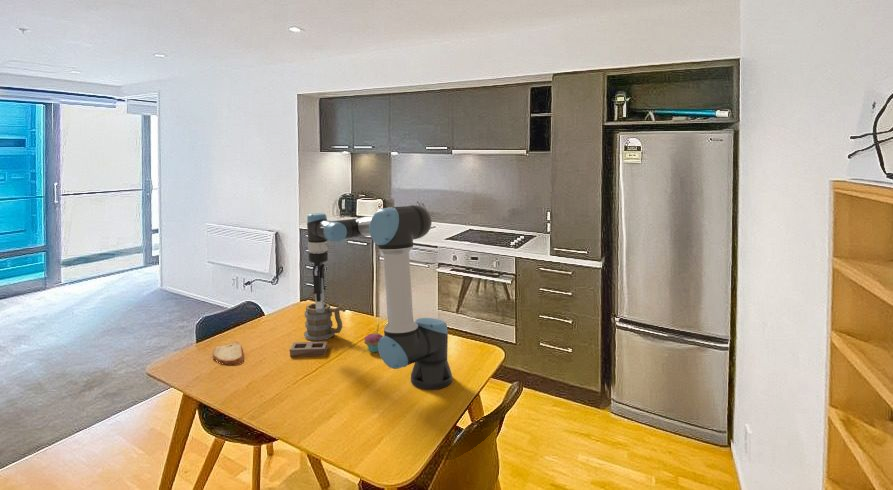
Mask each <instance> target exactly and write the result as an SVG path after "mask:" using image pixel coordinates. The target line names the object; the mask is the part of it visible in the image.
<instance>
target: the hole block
mask: <svg viewBox="0 0 893 490" xmlns="http://www.w3.org/2000/svg"><path fill="white" fill-rule="evenodd" d="M328 348H329V347H328V341H301V342H293V343H292V345H291V347H290V349H289V357H291V358H298V357H319V356H320V357H321V356H323V357H324V356H325V357H326V355H327V354H326V353H327V351H328Z"/></svg>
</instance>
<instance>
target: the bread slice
mask: <svg viewBox="0 0 893 490" xmlns="http://www.w3.org/2000/svg"><path fill="white" fill-rule="evenodd" d="M212 355H213V356H212V359H213V358H214V359H215V360H217V361H218V362H220V363H223V364H222V365H224V364H238V365H240V364H239V363H241V364H242V362H243V363H244V361H243V360H245V355H244V350H243V346H242V345H241V344H240V343H239V341H234V342H231V343H228V344H226V345H225V344H224V345H216V346H215V347H214V348H213V350H212ZM214 359H213V360H214ZM215 360H214V361H215ZM220 363H219V364H220Z"/></svg>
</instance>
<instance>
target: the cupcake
mask: <svg viewBox="0 0 893 490" xmlns="http://www.w3.org/2000/svg"><path fill="white" fill-rule="evenodd" d="M379 326H380V325H379V322H378V323H377V325H376V332H374V333H373V332H372V333H369V334H367V335H366V336H365V337H364V340H363V341H364V344H365V345H366V346H367V348H368V351H369V352H372V353H377V352H378V353H379V351H378V342H379V340H380V338H381V337H383V336H384V335H382V334H381V333H379Z"/></svg>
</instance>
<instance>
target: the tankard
mask: <svg viewBox="0 0 893 490" xmlns="http://www.w3.org/2000/svg"><path fill="white" fill-rule="evenodd" d="M346 311H347V308H346V307H344V306H343V305H340V306H338V307H331V305H330V304H329V303H326V302H324V312H323V313H317V312H316V303H315V302H314V303H309V304H308V305H307V306H305V311H304V317H305V319H306V321H305V322H304V326H305V328H306V331H304V332H303V336H304V338H305V339H306V340H309V341H314V342H320V341H323V340H329V339H330V338H332V337H333V336H335V334H340V333H341V332H342V329H343V321H342V318H341V313H340V312H342V313H345V312H346ZM333 313H334V319H335V321H336V326H337V327H336V328H333V320H332V316H333Z"/></svg>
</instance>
